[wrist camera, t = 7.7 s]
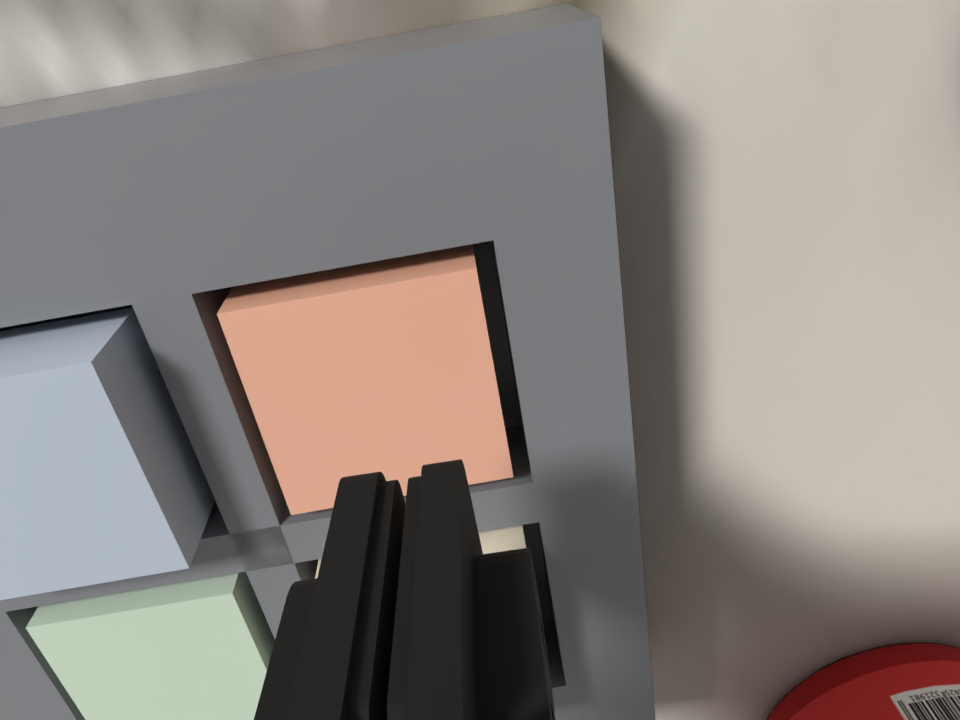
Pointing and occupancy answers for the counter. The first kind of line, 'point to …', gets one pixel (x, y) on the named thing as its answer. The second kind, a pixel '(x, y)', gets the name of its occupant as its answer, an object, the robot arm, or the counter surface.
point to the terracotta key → (370, 372)
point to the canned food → (881, 687)
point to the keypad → (345, 242)
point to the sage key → (160, 650)
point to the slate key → (92, 459)
